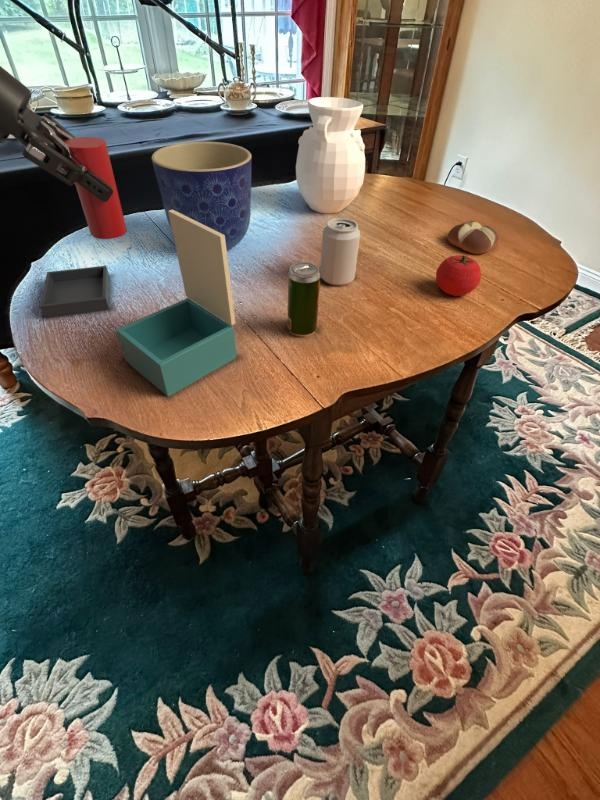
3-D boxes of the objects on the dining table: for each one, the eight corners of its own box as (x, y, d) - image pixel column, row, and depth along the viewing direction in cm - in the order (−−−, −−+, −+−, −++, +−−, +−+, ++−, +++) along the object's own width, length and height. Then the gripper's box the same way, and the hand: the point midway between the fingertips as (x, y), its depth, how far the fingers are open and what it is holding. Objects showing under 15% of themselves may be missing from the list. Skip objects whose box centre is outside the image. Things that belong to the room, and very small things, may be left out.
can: (358, 274, 95) (365, 219, 86) (349, 290, 90) (356, 233, 81) (325, 268, 96) (329, 213, 88) (315, 283, 91) (318, 227, 83)
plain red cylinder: (115, 241, 63) (91, 149, 55) (83, 236, 64) (54, 145, 55) (133, 227, 67) (113, 139, 58) (102, 222, 67) (78, 135, 59)
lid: (220, 237, 57) (224, 235, 58) (167, 210, 63) (172, 209, 64) (231, 325, 68) (235, 323, 68) (185, 296, 74) (189, 294, 74)
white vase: (346, 225, 113) (358, 113, 96) (283, 212, 119) (284, 103, 101) (369, 202, 126) (383, 99, 108) (311, 191, 131) (316, 91, 113)
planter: (174, 267, 94) (156, 173, 81) (163, 229, 108) (147, 144, 95) (265, 256, 99) (262, 166, 86) (244, 221, 113) (239, 138, 100)
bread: (474, 258, 102) (481, 238, 98) (439, 240, 109) (444, 220, 105) (504, 248, 106) (512, 228, 103) (469, 231, 113) (475, 212, 110)
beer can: (295, 341, 76) (296, 279, 68) (282, 325, 80) (282, 264, 72) (321, 334, 78) (326, 273, 70) (308, 318, 82) (311, 259, 73)
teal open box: (167, 397, 65) (159, 365, 61) (125, 361, 71) (115, 329, 67) (236, 358, 73) (233, 326, 68) (193, 328, 78) (188, 297, 74)
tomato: (439, 303, 87) (450, 266, 82) (426, 281, 93) (436, 245, 88) (481, 302, 88) (494, 265, 82) (466, 280, 94) (477, 245, 89)
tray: (45, 318, 79) (39, 306, 77) (51, 283, 88) (47, 271, 86) (109, 310, 82) (105, 298, 80) (109, 277, 91) (106, 265, 89)
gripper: (-26, 67, 44) (126, 185, 55) (1, 50, 54) (125, 153, 65) (-57, 128, 47) (94, 229, 58) (-26, 101, 56) (98, 192, 68)
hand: (110, 188), depth 61 cm, fingers closed on plain red cylinder, 5 cm apart
